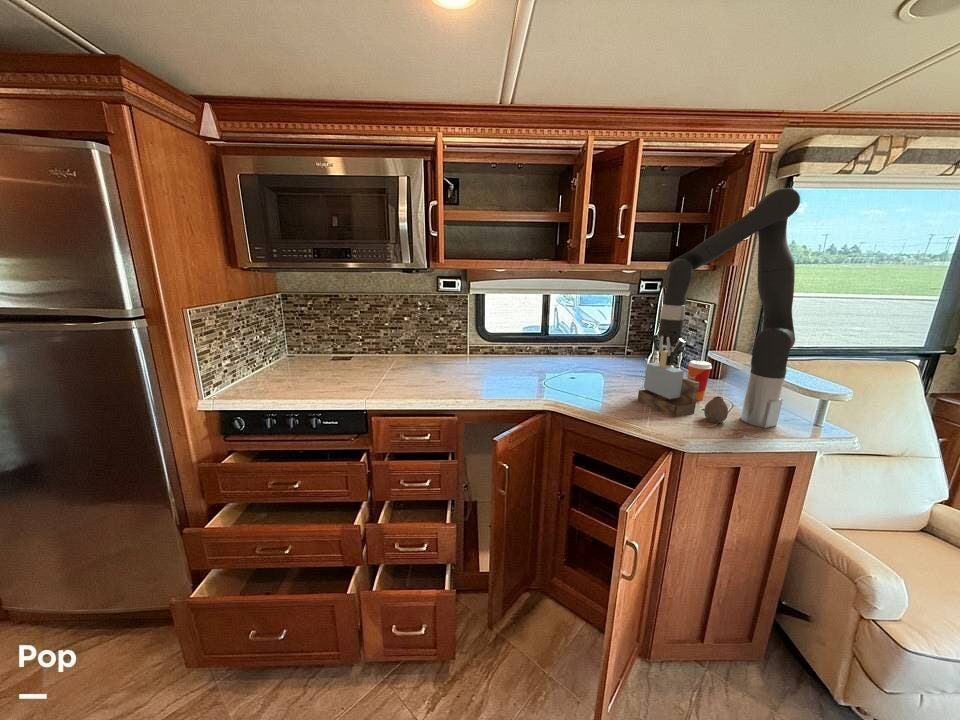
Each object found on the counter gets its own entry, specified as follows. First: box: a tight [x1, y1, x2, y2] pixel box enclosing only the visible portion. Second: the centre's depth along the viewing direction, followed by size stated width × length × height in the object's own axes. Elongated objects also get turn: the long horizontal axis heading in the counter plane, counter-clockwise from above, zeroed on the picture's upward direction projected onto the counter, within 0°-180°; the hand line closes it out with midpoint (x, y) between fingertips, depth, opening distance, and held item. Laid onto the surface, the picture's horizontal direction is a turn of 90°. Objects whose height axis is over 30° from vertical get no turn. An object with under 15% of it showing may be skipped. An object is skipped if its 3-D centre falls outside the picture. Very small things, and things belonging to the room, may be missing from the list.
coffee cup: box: [687, 360, 713, 402], centre depth 145 cm, size 8×8×15 cm
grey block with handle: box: [643, 349, 685, 399], centre depth 134 cm, size 12×5×16 cm, turn 22°
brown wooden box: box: [637, 376, 700, 418], centre depth 137 cm, size 18×10×12 cm, turn 22°
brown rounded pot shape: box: [703, 395, 729, 424], centre depth 125 cm, size 7×7×9 cm
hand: (665, 364), depth 133 cm, fingers closed on grey block with handle, 2 cm apart
